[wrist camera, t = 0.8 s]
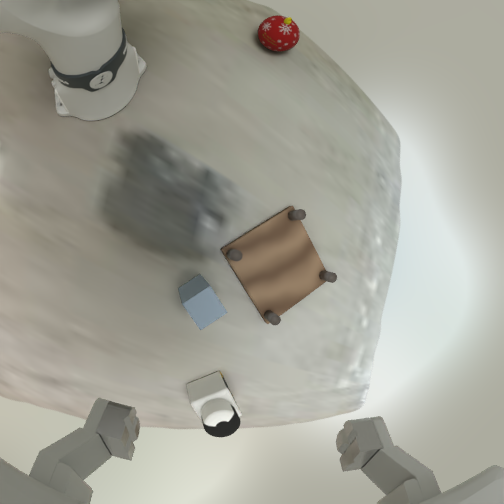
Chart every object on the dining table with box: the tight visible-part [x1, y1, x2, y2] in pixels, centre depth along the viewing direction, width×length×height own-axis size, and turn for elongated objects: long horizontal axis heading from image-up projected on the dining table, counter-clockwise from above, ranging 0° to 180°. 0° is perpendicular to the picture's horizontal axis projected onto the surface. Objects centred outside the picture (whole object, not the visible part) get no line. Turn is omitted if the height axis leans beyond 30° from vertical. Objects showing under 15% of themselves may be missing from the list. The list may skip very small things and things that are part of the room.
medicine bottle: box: [187, 371, 242, 437], centre depth 44 cm, size 7×7×12 cm
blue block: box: [178, 275, 228, 330], centre depth 43 cm, size 4×4×11 cm
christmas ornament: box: [258, 16, 300, 51], centre depth 44 cm, size 9×9×10 cm
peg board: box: [221, 206, 337, 325], centre depth 50 cm, size 16×15×5 cm
